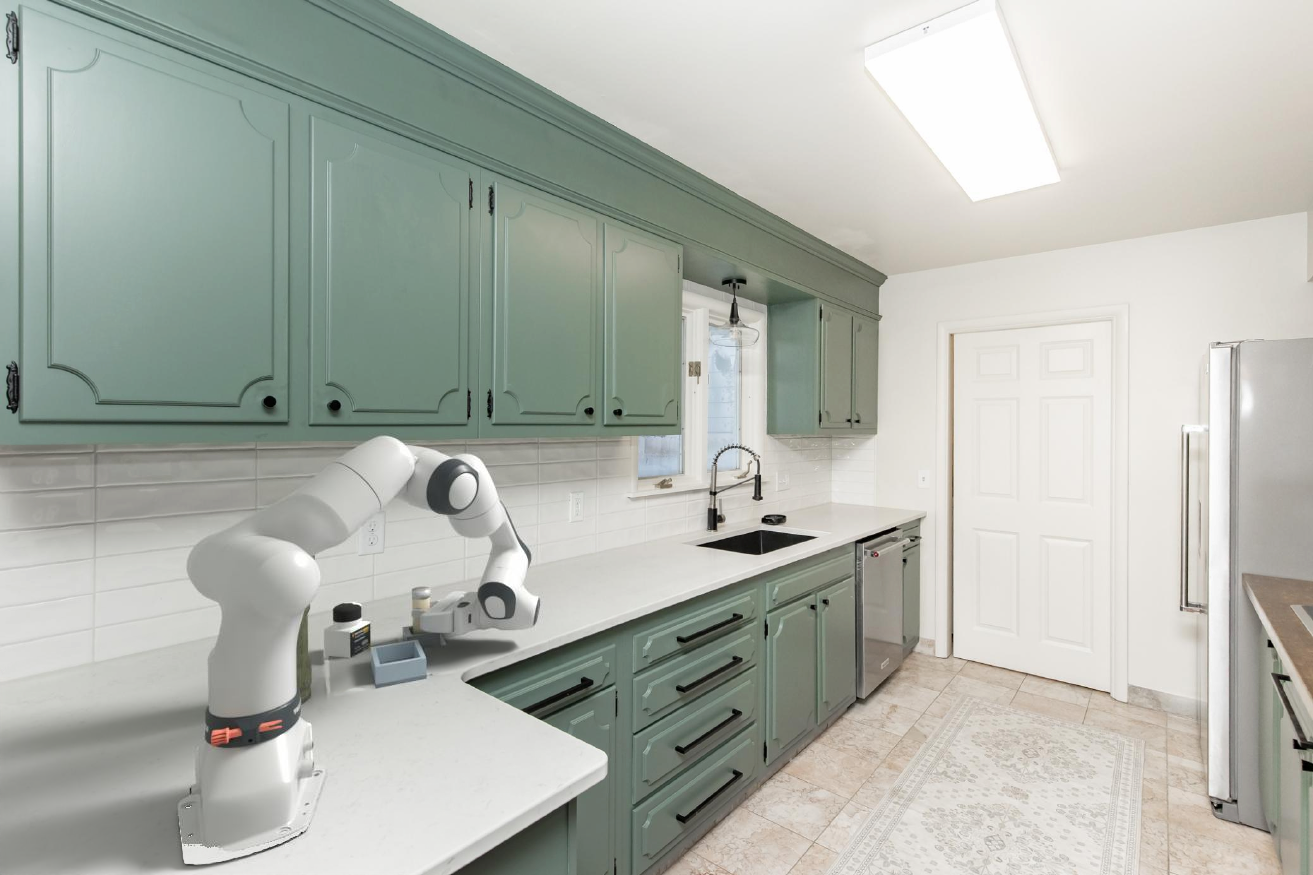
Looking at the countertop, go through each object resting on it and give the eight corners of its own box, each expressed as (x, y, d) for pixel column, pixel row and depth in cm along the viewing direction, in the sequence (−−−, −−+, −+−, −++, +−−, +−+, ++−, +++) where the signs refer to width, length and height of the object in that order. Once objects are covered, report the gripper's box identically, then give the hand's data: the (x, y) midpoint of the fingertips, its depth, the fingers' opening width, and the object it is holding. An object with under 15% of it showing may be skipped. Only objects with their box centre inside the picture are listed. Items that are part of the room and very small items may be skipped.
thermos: (240, 709, 118) (237, 528, 117) (296, 683, 129) (293, 518, 128) (274, 717, 115) (270, 531, 113) (327, 690, 126) (325, 521, 125)
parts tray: (426, 678, 132) (426, 657, 132) (375, 688, 127) (375, 667, 127) (417, 658, 143) (417, 639, 143) (370, 667, 138) (370, 647, 138)
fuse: (431, 642, 150) (431, 590, 149) (413, 645, 148) (413, 592, 147) (428, 637, 153) (428, 585, 153) (411, 640, 151) (410, 587, 151)
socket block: (446, 648, 149) (446, 632, 149) (402, 656, 144) (402, 639, 144) (439, 635, 157) (438, 619, 157) (396, 642, 153) (396, 626, 152)
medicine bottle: (350, 662, 140) (350, 610, 140) (323, 659, 142) (322, 608, 141) (371, 650, 147) (370, 601, 147) (345, 647, 149) (344, 598, 148)
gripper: (487, 585, 160) (434, 584, 161) (458, 611, 140) (398, 609, 140) (487, 609, 160) (434, 608, 161) (458, 638, 140) (398, 636, 140)
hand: (417, 609), depth 150 cm, fingers closed on fuse, 4 cm apart
